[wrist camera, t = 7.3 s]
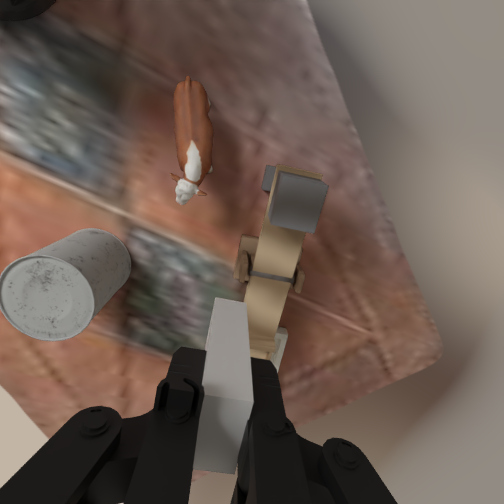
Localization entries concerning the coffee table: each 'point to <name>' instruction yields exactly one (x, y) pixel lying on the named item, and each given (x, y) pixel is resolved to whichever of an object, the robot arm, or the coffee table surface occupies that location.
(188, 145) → the bull figurine
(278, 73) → the coffee table surface
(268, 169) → the block
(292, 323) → the coffee table surface
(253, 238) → the fulcrum
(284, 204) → the lever
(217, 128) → the coffee table surface
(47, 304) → the grey metal can
